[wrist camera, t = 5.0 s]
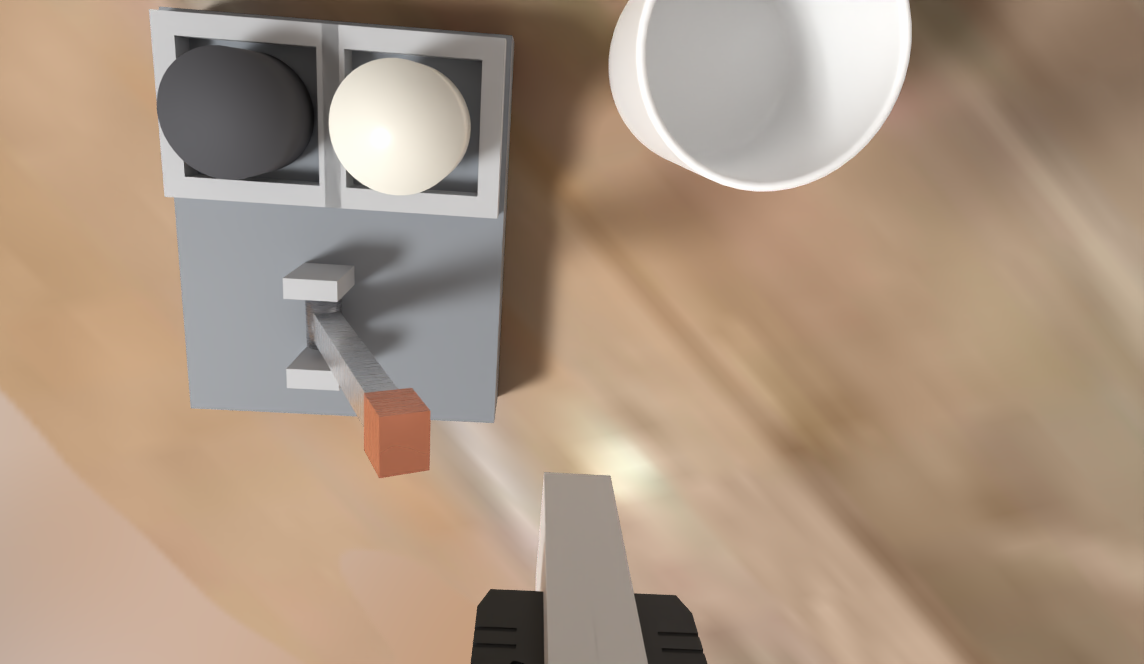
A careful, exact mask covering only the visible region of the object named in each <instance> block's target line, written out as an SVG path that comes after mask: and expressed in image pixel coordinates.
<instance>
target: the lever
mask: <svg viewBox="0 0 1144 664" xmlns="http://www.w3.org/2000/svg"><path fill="white" fill-rule="evenodd" d="M305 311H306V343H307V347H308V348H310V349H314V350H319V351H320V353H321V354H322V356H323V358H324V360H325V361H326V363H327V365H328V367H329V368H330V370H331V372H332V373H333V375H334V377H335V379H336V380H337V382H338V384H339V385H340V387H341V389H342V391H343V392H344V394H345V396H346V398H347V399H348V401H349V403H350V404H351V406H352V408H353V410H354V411H355V413H356V415H357V417H358V418H359V420H360V422H361V423H362V425H363V427H364V451H365V453H366V454H367V456H368V458H369V460H370V462H371V464H372V465H373V467H374V469H375V471H376V473H377V475H378V476H379V478H383V477H390V476H396V475H402V474H408V473H414V472H420V471H427V470H429V464H430V414H431V411H430V410H429V408H428V407H427V406H426V405H425V403H424V402H423V401H422V400H421V398H420V397H419V396H418V395H417V393H416V392H415V391H414V390H413V388H405V389H398V388H397V387H396V385H395V384H394V383H393V381H392V380H391V379H390V377H389V376H388V375H387V373H386V372H385V371H384V369H383V368H382V367H381V365H380V364H379V363H378V361H377V360H376V359H375V358H374V356H373V355H372V354H371V352H370V351H369V350H368V348H367V347H366V346H365V344H364V343H363V342H362V340H361V339H360V338H359V336H358V335H357V334H356V332H355V331H354V330H353V329H352V327H351V326H350V325H349V323H348V322H347V321H346V319H345V318H344V317H343V315H342V299H340V300H339V301H338V302H329V301H312V300H305Z"/></svg>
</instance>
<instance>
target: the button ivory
mask: <svg viewBox="0 0 1144 664" xmlns="http://www.w3.org/2000/svg"><path fill="white" fill-rule="evenodd" d="M329 133H330V138H331V142H332V145H333V148H334V150H335V153H336V155H337V157H338V159H339V160H340V162H341V163H342V165H343V166H344V167H345V169H346V170H347V171H348V172H349V173H350V174H351V175H352V176H353V177H354V178H355V179H356V180H358V181H359V182H360V183H362V184H363V185H365V186H367V187H369V188H370V189H373V190H375V191H378V192H381V193H385V194H389V195H411V194H416V193H420V192H422V191H425V190H427V189H429V188H431V187H433V186H434V185H436V184H437V183H439V182H440V181H441V180H442V179H444V178H445V177H446V176H447V175H448V174H450V173H451V172H452V171H453V170H454V169H455V168H456V167H457V166H458V164H459V163H460V161H461V160H462V158H463V157H464V155H465V153H466V150H467V147H468V144H469V140H470V133H471V122H470V115H469V111H468V108H467V105H466V102H465V100H464V98H463V96H462V94H461V93H460V91H459V90H458V88H457V87H456V86H455V85H454V83H453V82H452V81H451V80H450V79H449V78H447V77H446V76H445V75H444V74H442V73H441V72H439V71H437V70H436V69H434V68H431V67H429V66H427V65H423V64H420V63H417V62H414V61H410V60H407V59H401V58H382V59H377V60H373V61H370V62H368V63H365V64H363V65H361V66H359V67H358V68H356V69H355V70H353V71H352V72H351V73H350V74H349V75H348V76H347V77H346V78H345V79H344V80H343V81H342V83H341V84H340V86H339V87H338V89H337V90H336V93H335V95H334V97H333V100H332V103H331V106H330V112H329Z"/></svg>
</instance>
